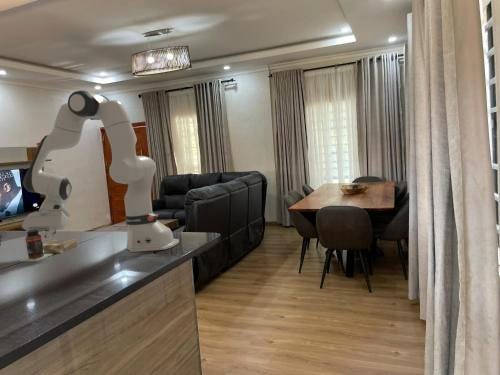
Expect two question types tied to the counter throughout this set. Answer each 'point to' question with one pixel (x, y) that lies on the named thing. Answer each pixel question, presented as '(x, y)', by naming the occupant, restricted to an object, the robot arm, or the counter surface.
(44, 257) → the sage pad
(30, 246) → the supplement bottle
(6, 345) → the counter surface
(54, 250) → the tan u-shaped bracket
